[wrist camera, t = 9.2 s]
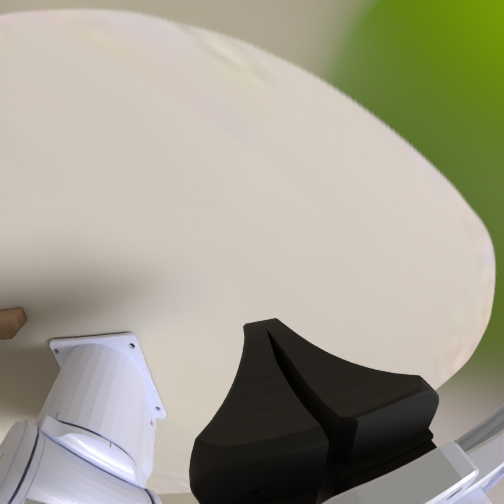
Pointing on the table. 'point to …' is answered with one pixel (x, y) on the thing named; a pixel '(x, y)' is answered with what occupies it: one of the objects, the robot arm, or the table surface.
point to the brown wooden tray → (11, 322)
